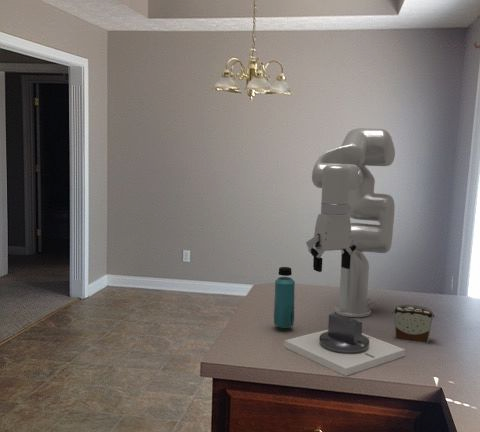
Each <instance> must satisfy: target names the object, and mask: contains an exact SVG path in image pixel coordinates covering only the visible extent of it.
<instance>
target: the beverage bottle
mask: <svg viewBox="0 0 480 432" xmlns="http://www.w3.org/2000/svg"><path fill="white" fill-rule="evenodd" d="M278 275H279V276H280V277H278V278H277V279H276V280H274V283H275V284H274V303H273V324H274V326H276V327H278V328H284V329H287V328H288V329H289V328H292V327H293V326H294V325H295V298H296V297H295V284H296V282H295V280H294V279H293V278H291V276H292V268H291V267H289V266H279V268H278ZM289 276H290V277H289Z"/></svg>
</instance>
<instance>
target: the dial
mask: <svg viewBox="0 0 480 432" xmlns="http://www.w3.org/2000/svg"><path fill="white" fill-rule="evenodd" d="M327 324H328V325H327V328H328V332H325V333H322V334H321V335H320V338H319V344H320V345H321V346H322V347H323V348H325V349H327V350H330V351H333V352H338V353H347V354H353V353H361V352H364V351H366V350H368V349H369V339H368V338H367V337H365V336H364V335H362V333H363V321H362V322H361V321H359V320H357V319H353V318H352V317H347V316H343V315H340V314H337V313H336V312H335V313H331V314H329V315H328V323H327Z"/></svg>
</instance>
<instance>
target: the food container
mask: <svg viewBox="0 0 480 432" xmlns="http://www.w3.org/2000/svg"><path fill="white" fill-rule="evenodd" d="M392 315H394V333H395V341H403V342H404V341H405V342H410V343H411V342H412V343H418V344H419V343H420V344H426V345H428V344H429V339H430V335H431V334H430V333H431V328H432V322H433V319H434V320H436V317H435V313H434V310H433V309H431V308H429V307H426V306H424V305H419V304H413V303H412V304H409V303H408V304H407V303H405V304H396V305H395V306H394V308H393V310H392Z"/></svg>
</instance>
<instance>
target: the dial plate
mask: <svg viewBox="0 0 480 432" xmlns="http://www.w3.org/2000/svg"><path fill="white" fill-rule="evenodd" d="M325 332H328V329H324V330H320V331H317V332H312V333H308V334H303V335H301V336H296V337H292V338H289V339H285V340H284V346H283V347H284V348H286V349H287V350H290V351H292V352H294V353H296V354H299V355H300V356H303V357H304V358H306V359H309V360H311V361H313V362H315V363H316V364H320V365H322V366H323V367H325V368H327V369H330V370H332V371H334V372H336V373H338V374H341V375H342V376H345V377H347V376H351V375H353V374H356V373H358V372H362V371H365V370H369V369H371V368H373V367H377V366H380V365H382V364H386V363H389V362H392V361H395V360H398V359H400V358H403V357H405V354H406V348H403V347H400V346H397V345H394V344H391V343H388V342H386V341H384V340H382V339H378V338H375V337H373V336H370V335H368V334H365V333H363V332H362V335H364V336H365V337H367V338H368V339H369V349H368V350H366V351H364V352H361V353H353V354H347V353H338V352H333V351H330V350H327V349H325V348H323V347H322V346H321V345H320V344H319V338H320V335H321V334H322V333H325Z"/></svg>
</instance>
